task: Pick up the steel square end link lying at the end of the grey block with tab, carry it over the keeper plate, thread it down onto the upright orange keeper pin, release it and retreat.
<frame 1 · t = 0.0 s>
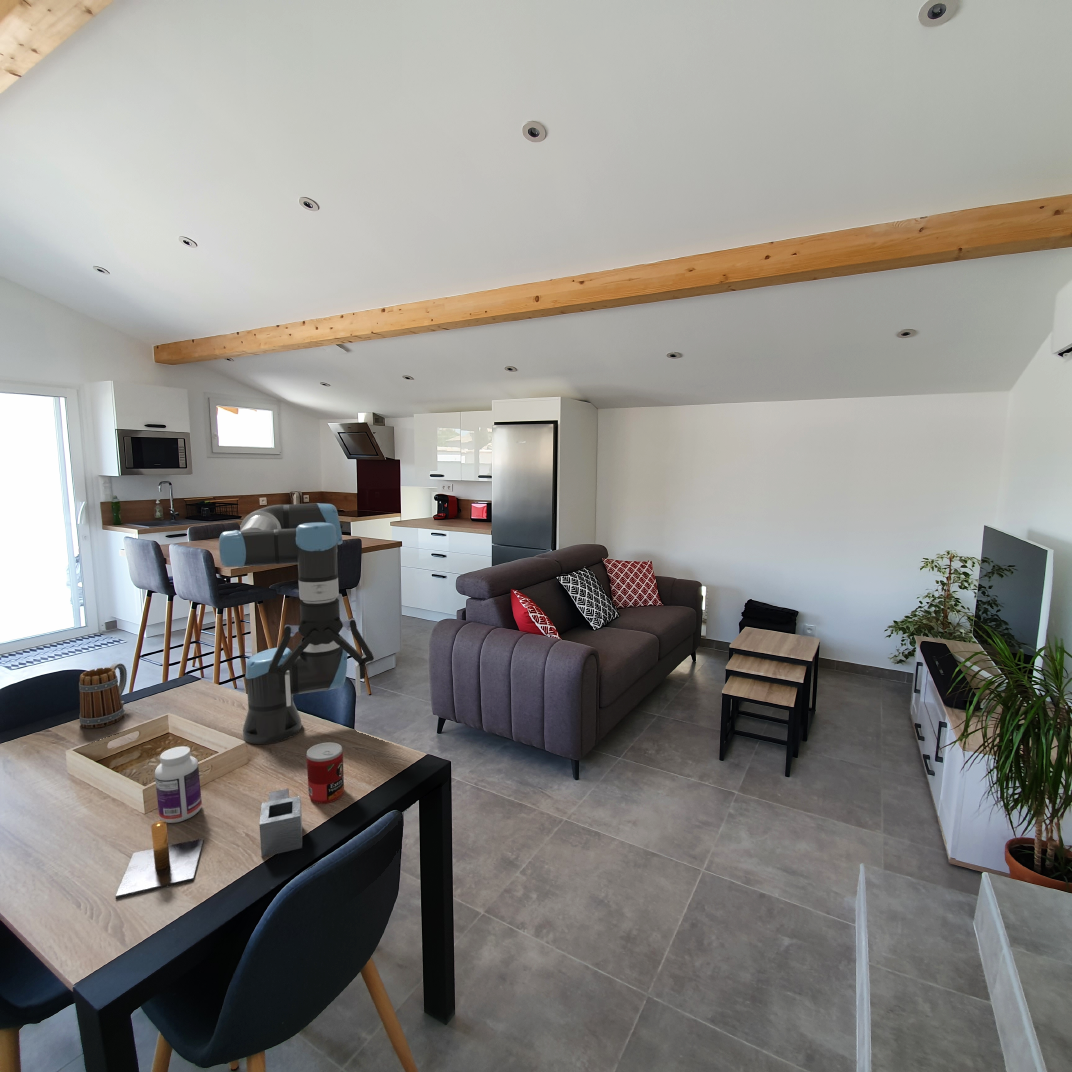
hand: (324, 698, 120), 28 cm above the table, fingers open, 13 cm apart
pill bottle: (181, 814, 126), on the table
keeper base: (162, 867, 110), on the table
grey block with tab: (278, 816, 125), on the table
canned food: (326, 795, 134), on the table
end link: (282, 841, 118), on the table
mug: (109, 717, 172), on the table
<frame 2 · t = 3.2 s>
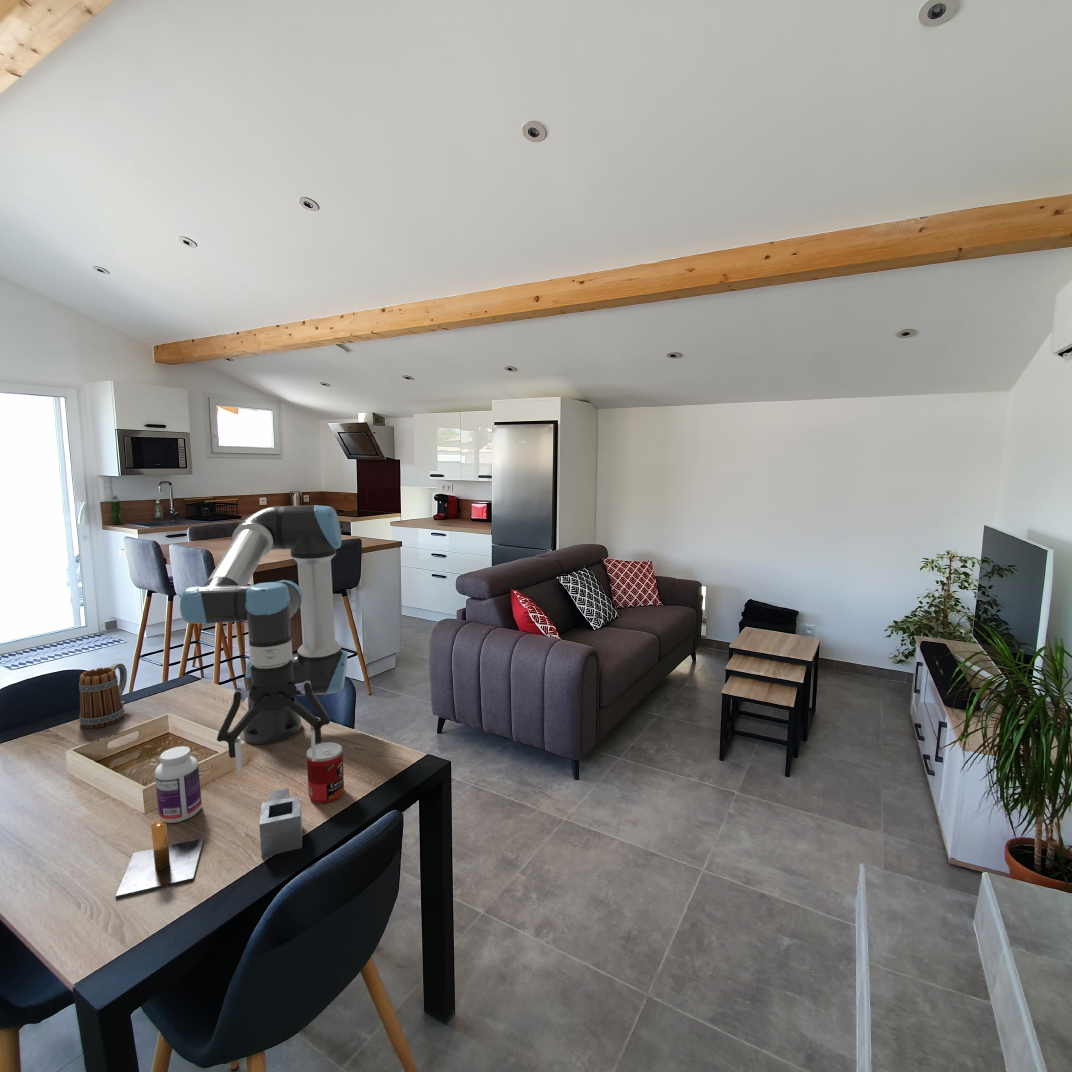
hand: (277, 764, 115), 17 cm above the table, fingers open, 13 cm apart
nothing on the table moved.
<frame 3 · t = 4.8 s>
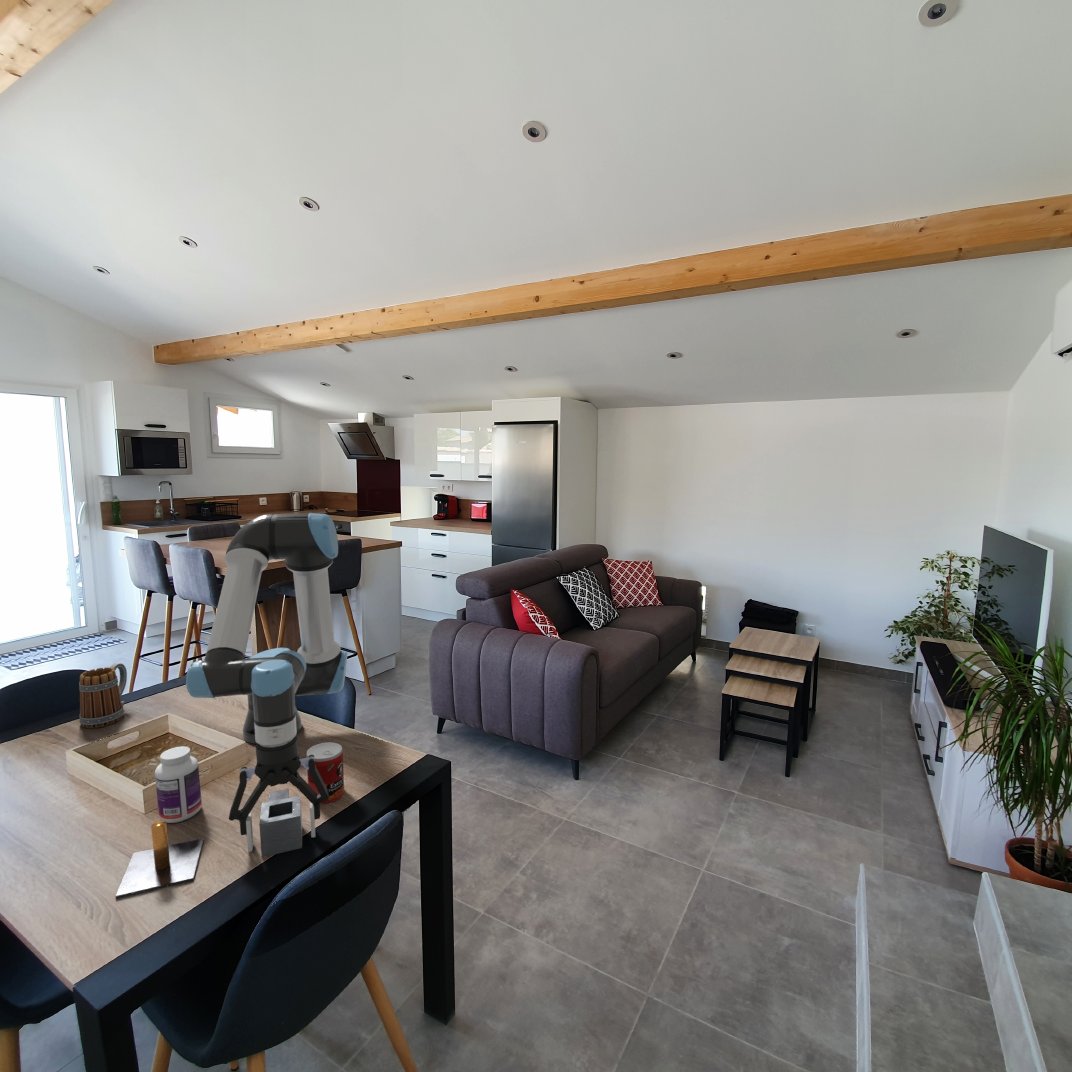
hand: (282, 840, 117), 0 cm above the table, fingers open, 11 cm apart
nothing on the table moved.
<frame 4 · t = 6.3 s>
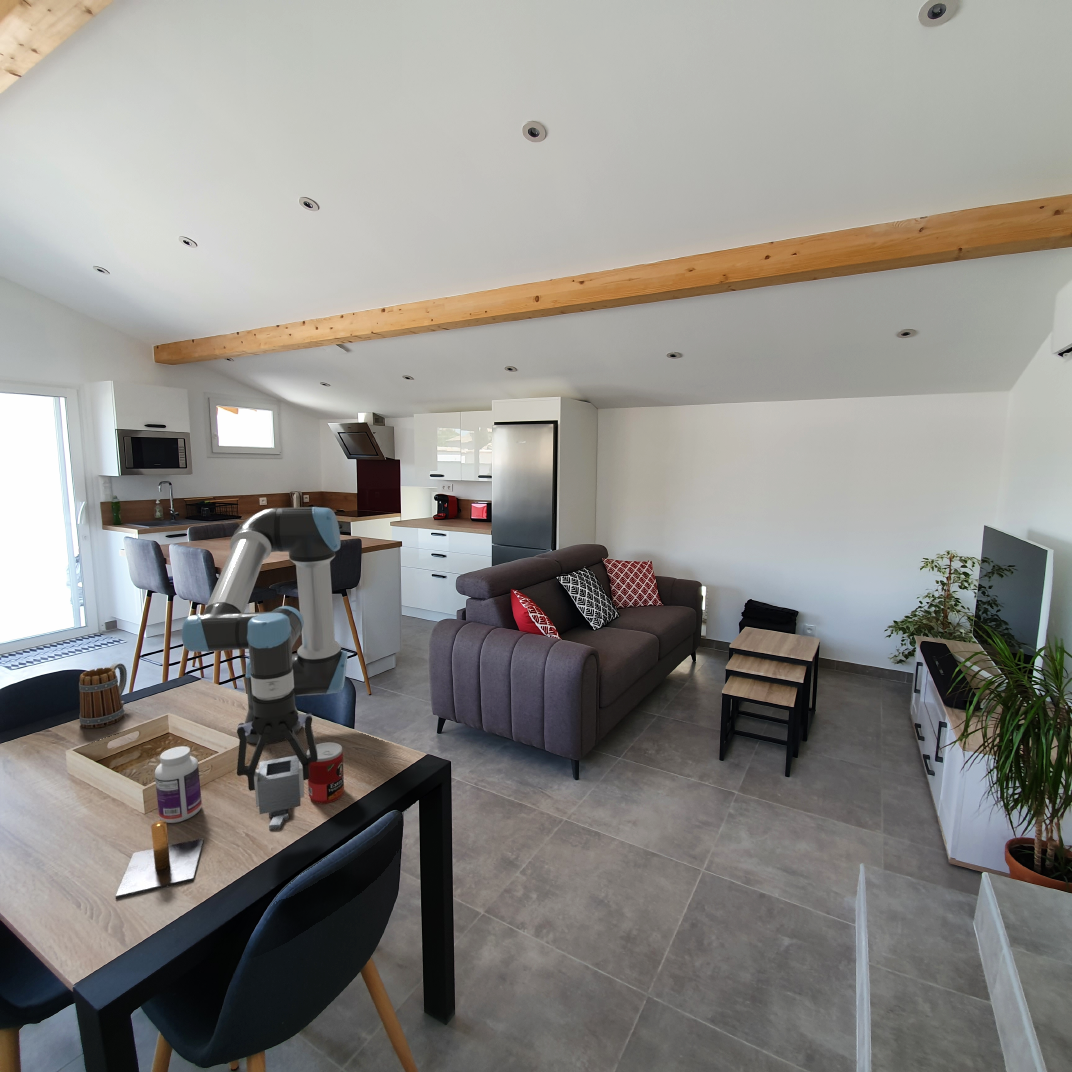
hand: (280, 798, 117), 9 cm above the table, fingers closed on end link, 7 cm apart
end link: (280, 799, 117), point 9 cm above the table, touching gripper
everything else where it was.
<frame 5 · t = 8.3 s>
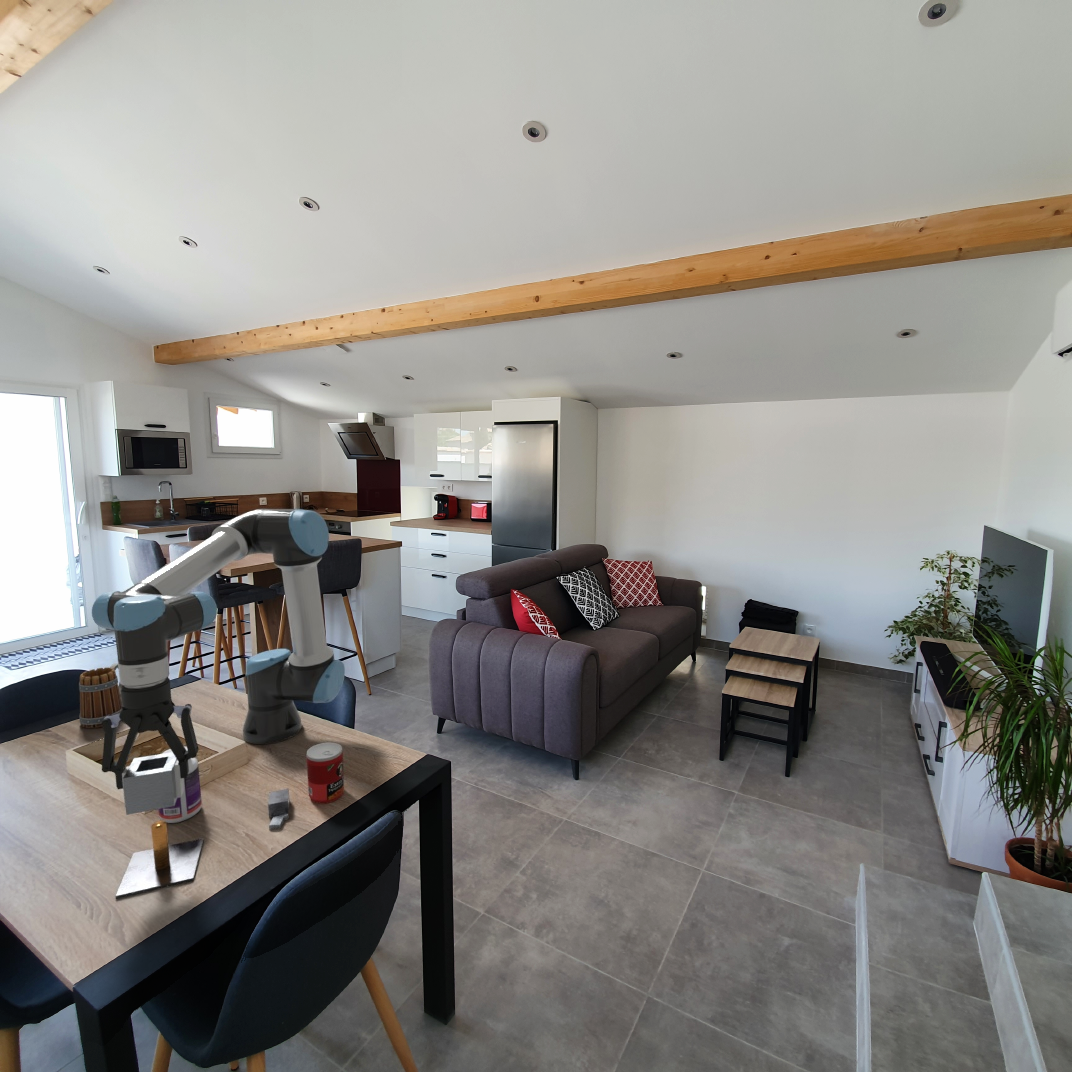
hand: (155, 798, 108), 15 cm above the table, fingers closed on end link, 7 cm apart
end link: (155, 799, 108), point 14 cm above the table, touching gripper
everything else where it was.
when the fingers open (2 cm above the table, at t = 10.8 s): end link drops 1 cm, resting on keeper base.
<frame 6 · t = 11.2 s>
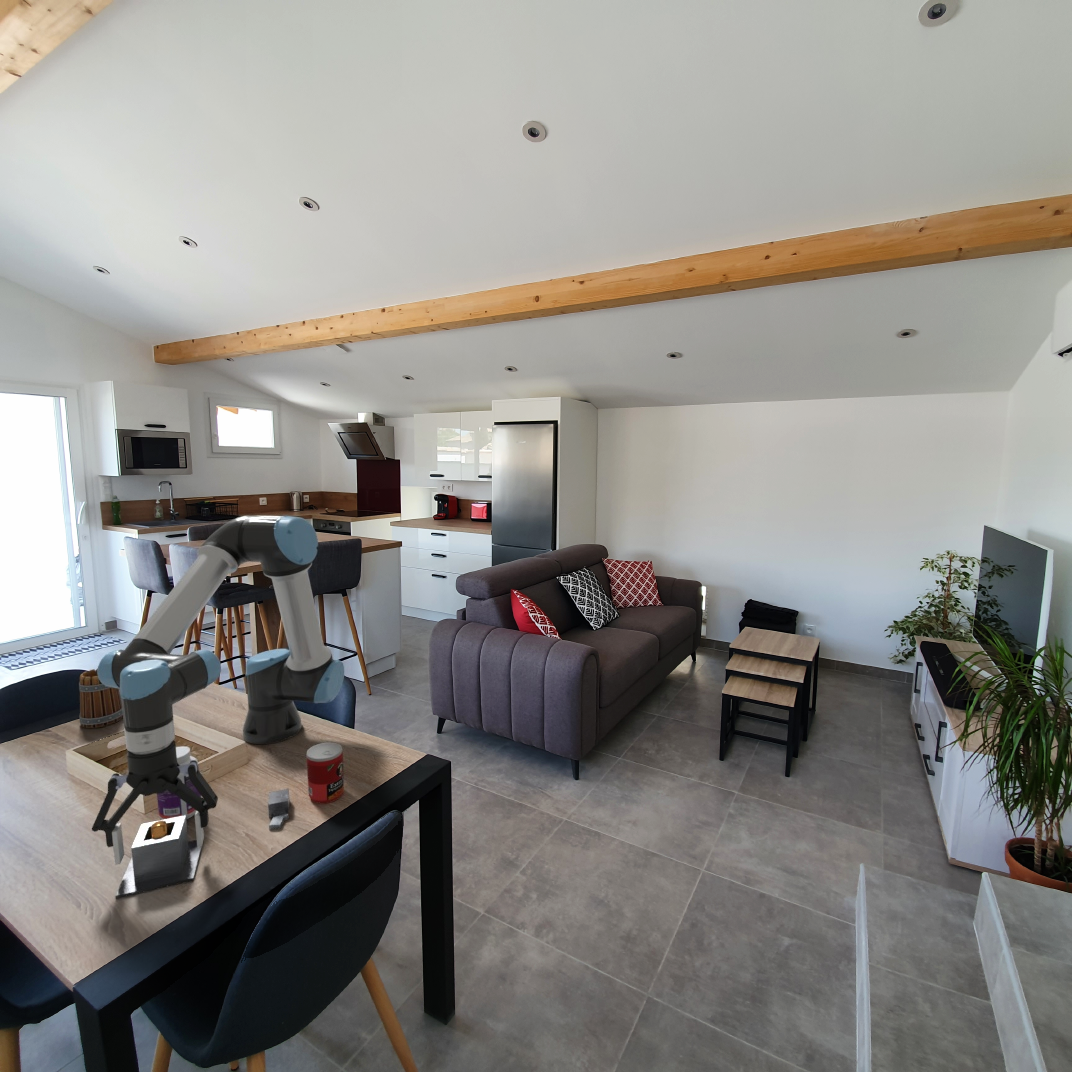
hand: (161, 851, 109), 4 cm above the table, fingers open, 12 cm apart
end link: (162, 864, 110), point 1 cm above the table, touching keeper base
everything else where it was.
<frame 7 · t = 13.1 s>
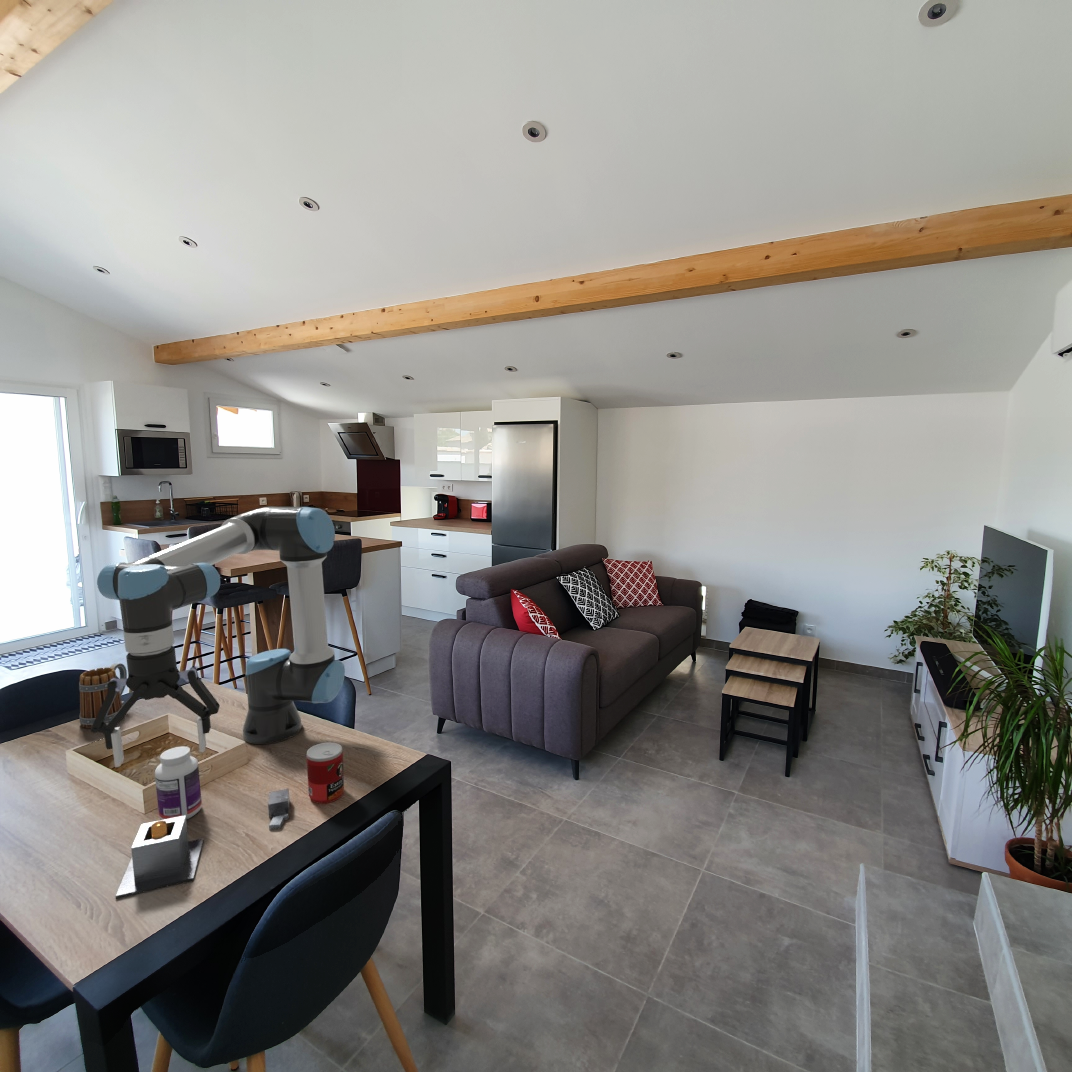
hand: (162, 756, 109), 21 cm above the table, fingers open, 13 cm apart
nothing on the table moved.
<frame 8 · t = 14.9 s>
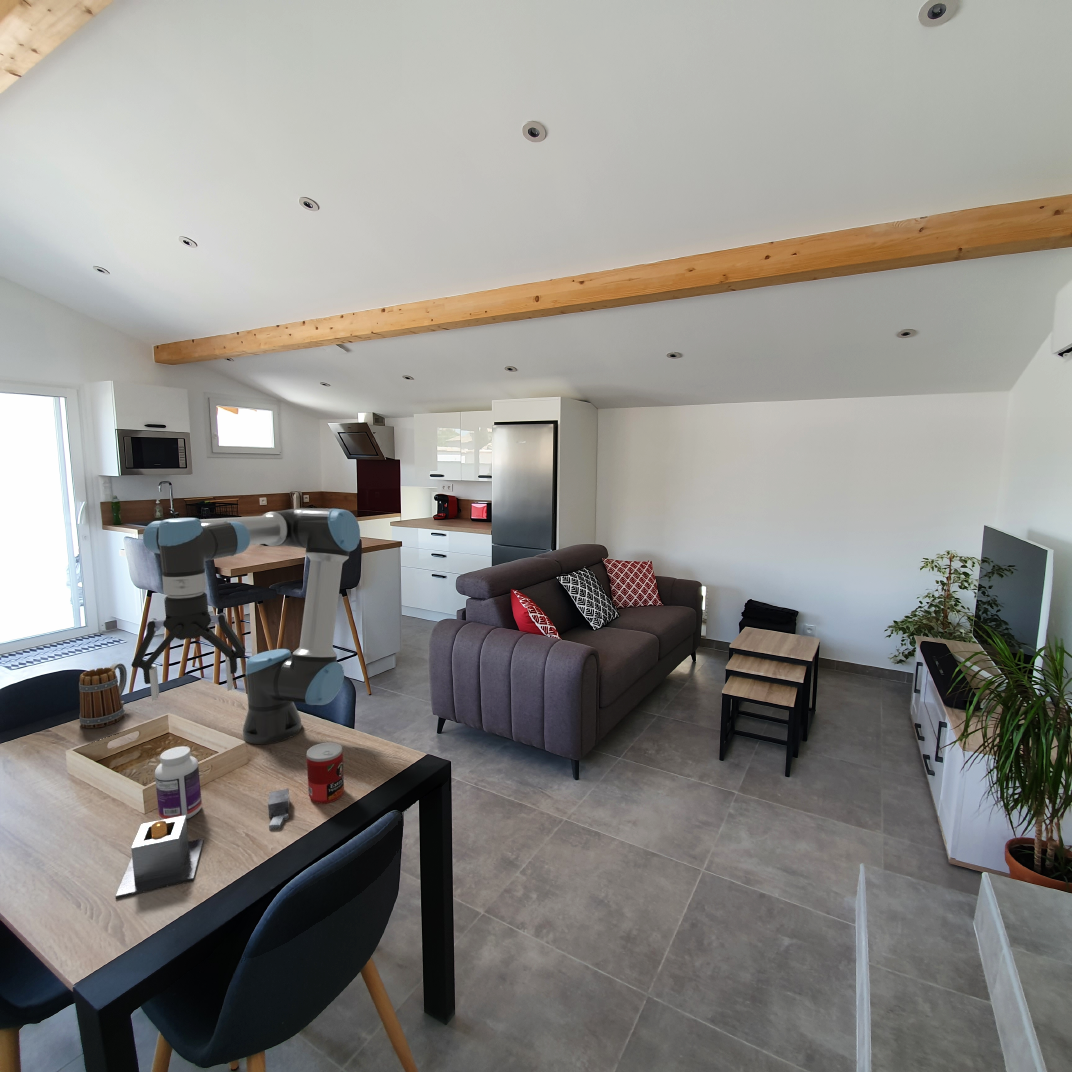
hand: (193, 693, 120), 29 cm above the table, fingers open, 13 cm apart
nothing on the table moved.
at the end: end link 0.1 cm off-centre on the keeper base, point 0.6 cm above the keeper base's base; end link tilted 0°; the gripper is holding nothing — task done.
